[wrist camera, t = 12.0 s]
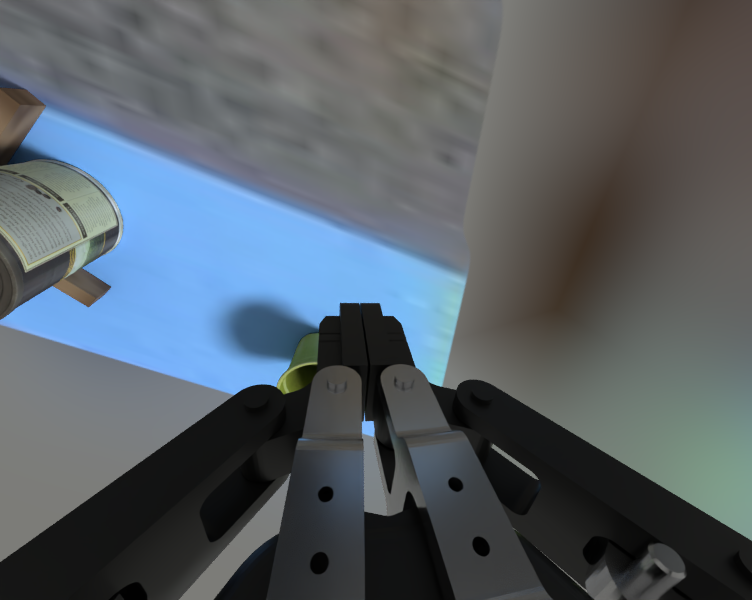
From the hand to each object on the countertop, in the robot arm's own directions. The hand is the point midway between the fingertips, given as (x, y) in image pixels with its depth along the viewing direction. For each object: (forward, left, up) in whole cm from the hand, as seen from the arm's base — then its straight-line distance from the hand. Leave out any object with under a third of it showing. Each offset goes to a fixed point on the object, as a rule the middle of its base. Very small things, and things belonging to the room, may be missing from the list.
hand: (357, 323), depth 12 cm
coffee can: (-6, -28, -27) cm, 39 cm away
